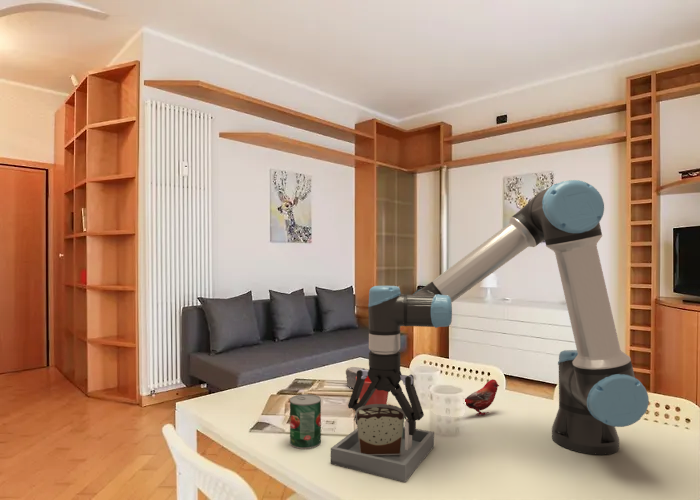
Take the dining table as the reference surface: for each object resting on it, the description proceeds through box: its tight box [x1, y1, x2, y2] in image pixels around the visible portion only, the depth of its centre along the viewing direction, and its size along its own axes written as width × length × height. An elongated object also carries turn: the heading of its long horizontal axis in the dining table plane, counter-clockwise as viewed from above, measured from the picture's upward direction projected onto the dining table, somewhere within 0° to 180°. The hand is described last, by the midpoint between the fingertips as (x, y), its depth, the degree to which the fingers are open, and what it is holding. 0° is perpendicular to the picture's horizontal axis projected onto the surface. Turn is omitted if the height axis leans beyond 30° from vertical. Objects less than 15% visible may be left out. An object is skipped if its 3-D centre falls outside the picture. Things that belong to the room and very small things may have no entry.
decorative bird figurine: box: [464, 379, 500, 416], centre depth 132 cm, size 3×18×10 cm, turn 115°
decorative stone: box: [345, 366, 369, 390], centre depth 159 cm, size 15×7×10 cm
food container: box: [353, 403, 407, 455], centre depth 107 cm, size 12×6×10 cm, turn 92°
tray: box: [330, 425, 435, 483], centre depth 107 cm, size 18×20×4 cm
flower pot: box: [356, 376, 389, 405], centre depth 139 cm, size 11×11×10 cm
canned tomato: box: [289, 393, 322, 450], centre depth 114 cm, size 8×8×11 cm
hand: (384, 443), depth 107 cm, fingers closed on food container, 11 cm apart
